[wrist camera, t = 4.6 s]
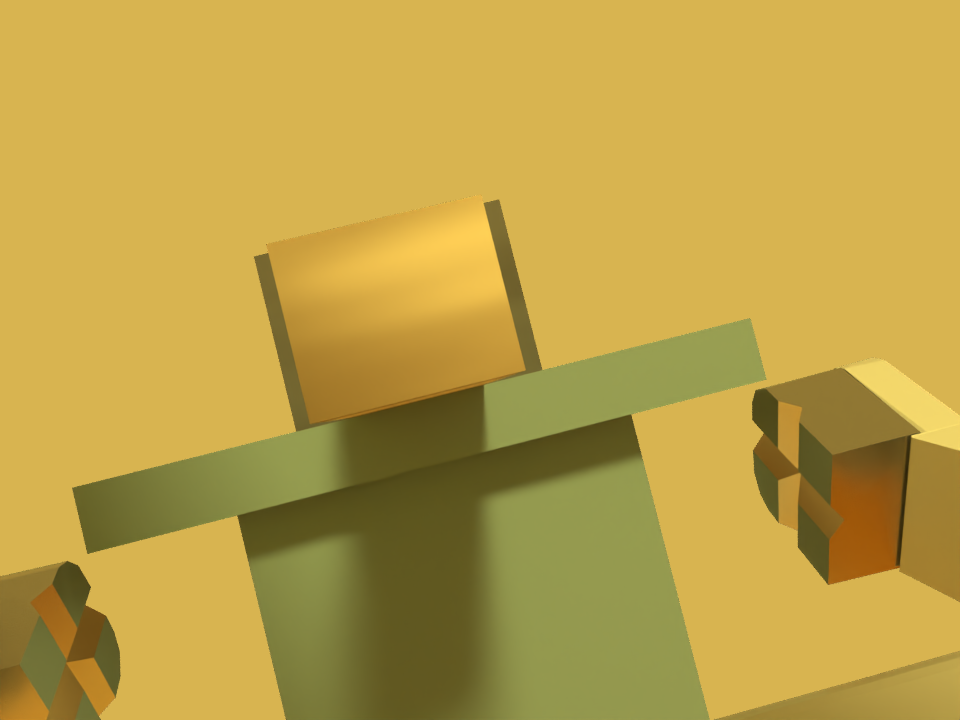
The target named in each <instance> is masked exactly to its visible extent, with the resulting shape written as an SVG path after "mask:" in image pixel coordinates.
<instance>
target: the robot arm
mask: <svg viewBox="0 0 960 720" xmlns="http://www.w3.org/2000/svg"><path fill="white" fill-rule="evenodd" d="M752 416H753V418H752V420H753V421H754V422H755V423H756V424H757V426H758V427H759V428H760V429H761V430H762V431H763V432H764V434H763V436H762V437H761V439H760V440H759V442H758V444H757V445H756V447H755V448H754V450H753V455H754V473H755V477H756V480H757V484H758V487H759V490H760V494H761V496H762V498H763V500H764V502H765V504H766V506H767V508H768V509H769V511H770V512H771V513H772V515H773V516H774V517H775V519H776V520H777V521H778V523H780V524H783V525H785V526H788V527H790V528H793V529H795V530H798V548H799V549H800V550H801V552H802V553H803V554H804V555H805V556H806V558H807V559H808V560H809V561H810V563H811V564H812V565H813V566H814V568H815V569H816V570H817V571H818V573H819V574H820V575H821V576H822V578H823V579H824V580H825V581H826V583H827V584H828V585H830V584H834V583H838V582H842V581H847V580H851V579H855V578H859V577H863V576H867V575H871V574H875V573H880V572H884V571H888V570H892V569H896V568H900V572H902V573H904V574H906V575H908V576H910V577H912V578H914V579H916V580H918V581H920V582H922V583H924V584H926V585H928V586H930V587H932V588H934V589H935V590H937V591H939V592H942V593H943V594H945V595H948V596H949V597H952V598H953V599H955V600H957V601H959V602H960V415H958V414H957V413H956V412H954V411H953V410H951V409H950V408H949V407H947V406H946V405H945V404H943V403H942V402H941V401H939V400H938V399H937V398H935V397H934V396H932V395H931V394H930V393H928V392H927V391H926V390H924V389H923V388H922V387H920V386H919V385H918V384H916V383H915V382H914V381H912V380H911V379H909V378H908V377H907V376H905V375H904V374H903V373H901V372H900V371H899V370H897V369H896V368H895V367H893V366H892V365H890V364H889V363H888V362H886V361H885V360H883V359H878V358H869V359H866V360H862V361H859V362H855V363H852V364H848V365H845V366H841V367H838V368H835V369H834V370H830V371H827V372H822V373H819V374H815V375H811V376H807V377H804V378H800V379H796V380H792V381H789V382H785V383H781V384H777V385H774V386H770V387H766V388H762V389H758V390H756V391H755V394H754V398H753V402H752ZM90 588H91V587H90V585H89V583H88V582H87V580H86V578H85V576H84V575H83V573H82V571H81V570H80V568H79V566H78V565H75V564H73V563H71V562H68V561H66V562H62V563H57V564H53V565H48V566H44V567H39V568H35V569H31V570H26V571H22V572H18V573H13V574H9V575H5V576H0V720H101V719H100V718H99V715H100V714H101V713H102V712H103V711H104V710H105V709H106V708H107V707H108V705H109V704H110V703H111V702H112V701H113V700H114V699H115V698H116V693H117V689H118V684H119V680H120V652H119V647H118V644H117V641H116V637H115V633H114V631H113V629H112V627H111V625H110V623H109V621H108V619H107V617H106V616H105V615H103V614H101V613H100V612H98V611H96V610H94V609H92V608H90V607H88V606H86V605H85V604H86V600H87V598H88V594H89V591H90ZM716 720H960V651H958V652H955V653H951V654H947V655H944V656H940V657H937V658H933V659H930V660H926V661H923V662H919V663H916V664H912V665H909V666H905V667H901V668H898V669H894V670H891V671H888V672H884V673H880V674H877V675H874V676H870V677H866V678H863V679H859V680H856V681H852V682H849V683H845V684H841V685H838V686H834V687H830V688H827V689H823V690H820V691H816V692H813V693H809V694H805V695H802V696H798V697H794V698H791V699H787V700H784V701H780V702H777V703H773V704H769V705H766V706H762V707H759V708H755V709H752V710H748V711H744V712H740V713H737V714H733V715H730V716H726V717H723V718H719V719H716Z"/></svg>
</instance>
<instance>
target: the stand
mask: <svg viewBox="0 0 960 720" xmlns="http://www.w3.org/2000/svg"><path fill="white" fill-rule="evenodd" d="M763 380H766V377H765V372H764V369H763V365H762V361H761V357H760V353H759V350H758V346H757V342H756V338H755V334H754V331H753V327H752V323H751V319H750V318H749V319H745V320H741V321H737V322H733V323H729V324H725V325H721V326H718V327H713V328H709V329H705V330H701V331H697V332H694V333H689V334H685V335H681V336H678V337H673V338H669V339H666V340H662V341H658V342H653V343H649V344H645V345H641V346H637V347H633V348H629V349H625V350H621V351H617V352H613V353H609V354H605V355H602V356H597V357H593V358H589V359H585V360H581V361H577V362H574V363H569V364H565V365H561V366H557V367H554V368H549V369H546V370H541V371H537V372H533V373H529V374H525V375H521V376H517V377H513V378H509V379H505V380H501V381H497V382H493V383H489V384H485V385H481V386H477V387H473V388H469V389H465V390H461V391H457V392H453V393H449V394H445V395H441V396H437V397H433V398H429V399H425V400H421V401H417V402H413V403H409V404H405V405H401V406H397V407H393V408H389V409H385V410H381V411H377V412H373V413H369V414H365V415H361V416H357V417H353V418H349V419H345V420H341V421H337V422H333V423H329V424H325V425H321V426H317V427H313V428H309V429H305V430H301V431H297V432H294V433H290V434H286V435H281V436H278V437H274V438H270V439H266V440H262V441H258V442H254V443H250V444H246V445H242V446H238V447H234V448H230V449H226V450H222V451H218V452H214V453H210V454H206V455H202V456H198V457H194V458H190V459H186V460H182V461H178V462H174V463H170V464H166V465H162V466H158V467H154V468H150V469H146V470H142V471H138V472H134V473H130V474H126V475H122V476H118V477H114V478H110V479H106V480H102V481H98V482H94V483H90V484H86V485H82V486H78V487H74V488H72V489H73V493H74V498H75V502H76V506H77V510H78V515H79V519H80V523H81V528H82V532H83V537H84V541H85V545H86V550H87V553H88V554H89V553H93V552H96V551H100V550H104V549H108V548H112V547H116V546H120V545H124V544H127V543H131V542H135V541H139V540H143V539H147V538H151V537H155V536H158V535H163V534H167V533H170V532H174V531H178V530H182V529H186V528H190V527H194V526H198V525H201V524H205V523H209V522H213V521H217V520H221V519H225V518H229V517H233V516H236V515H237V516H238V519H239V524H240V528H241V533H242V537H243V541H244V545H245V549H246V553H247V558H248V562H249V566H250V570H251V575H252V579H253V583H254V587H255V591H256V595H257V599H258V604H259V608H260V612H261V616H262V621H263V625H264V629H265V633H266V637H267V641H268V646H269V650H270V654H271V658H272V663H273V667H274V671H275V675H276V679H277V684H278V688H279V692H280V696H281V700H282V704H283V709H284V713H285V717H286V720H709V716H708V712H707V708H706V704H705V700H704V696H703V693H702V688H701V685H700V681H699V677H698V673H697V669H696V665H695V662H694V657H693V654H692V650H691V646H690V642H689V638H688V634H687V631H686V626H685V622H684V618H683V614H682V611H681V607H680V603H679V599H678V596H677V591H676V587H675V584H674V579H673V576H672V572H671V568H670V564H669V560H668V556H667V553H666V548H665V544H664V541H663V537H662V533H661V529H660V525H659V521H658V517H657V513H656V509H655V505H654V502H653V498H652V494H651V490H650V486H649V482H648V478H647V474H646V471H645V467H644V463H643V459H642V455H641V451H640V447H639V443H638V439H637V435H636V432H635V428H634V424H633V420H632V416H631V414H634V413H638V412H642V411H646V410H650V409H653V408H657V407H661V406H665V405H669V404H673V403H677V402H681V401H685V400H688V399H692V398H696V397H700V396H704V395H708V394H712V393H716V392H720V391H723V390H728V389H731V388H735V387H739V386H743V385H747V384H751V383H755V382H758V381H763Z"/></svg>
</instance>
